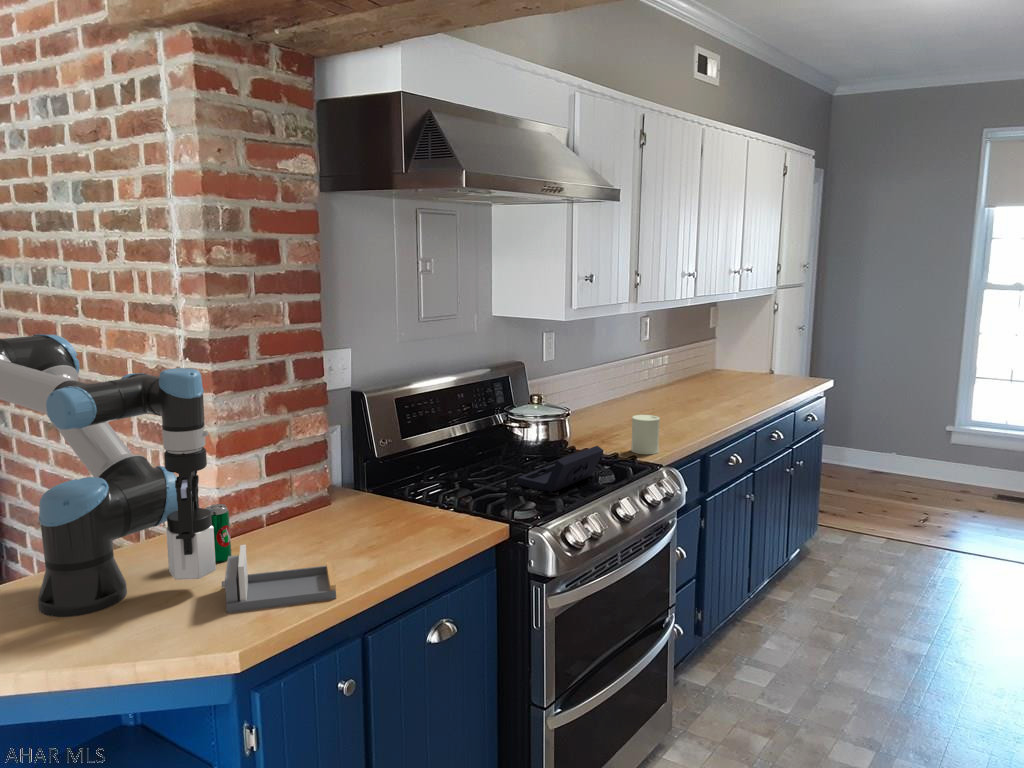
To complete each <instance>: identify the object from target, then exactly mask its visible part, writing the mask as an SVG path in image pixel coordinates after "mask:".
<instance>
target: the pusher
mask: <svg viewBox="0 0 1024 768" xmlns="http://www.w3.org/2000/svg"><path fill="white" fill-rule="evenodd" d="M247 559H248V558H247V545H246V544H240V545H239V564H238V572H239V580H238V586H239V588H240V601H247V590H248V560H247ZM221 588H222V589H223V588H224V589H225V580H222V581H221Z"/></svg>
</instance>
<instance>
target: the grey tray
mask: <svg viewBox="0 0 1024 768" xmlns="http://www.w3.org/2000/svg"><path fill="white" fill-rule="evenodd" d="M238 564H239V555H232V556H228V560H227V561H226V567H225V568H226V569H225V574H224V575H225V576H224V581H225V587H224V589H225V602H226V603H225V608H226V609H225V610H226V613H227V614H231V613H239V612H246V611H247V612H248V611H254V610H261V609H262V610H263V609H268V608H269V609H270V608H276V607H284V606H285V607H286V606H293V605H301V604H307V603H306V602H309V603H314V602H313V601H317V602H324V601H329V600H330V599H332V600H337V588H336V579H335V575H334V569H333V564H332V561H326V563H325V565H321V566H313V567H304V568H295V569H294V568H293V569H285V570H275V571H268V572H267V571H266V572H258V573H250V574H248V590H247V601H240V588H239V586H238V580H239V572H238ZM321 600H322V601H321ZM323 600H324V601H323ZM300 603H301V604H300Z"/></svg>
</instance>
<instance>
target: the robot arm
mask: <svg viewBox="0 0 1024 768" xmlns="http://www.w3.org/2000/svg"><path fill="white" fill-rule="evenodd" d="M77 356H78V354H77V350H76V349H75V348H74V346H73V345H72V344H71V343H70V342H69V340H67V339H66V338H64V337H62V336H60V335H58V334H57V335H56V334H42V333H39V334H37V333H36V334H33V335H30V336H29V335H28V336H19V337H7V338H0V400H1V401H4V402H7V403H11V404H14V405H18V406H20V407H23V408H27V409H29V410H32V411H35V412H38V413H39V412H40V413H43V414H45V415H46V416H47V417H48V419H49V420H50V422H51V423H52V424H53V426H54V427H55V429H57V431H58V432H59V433H60V435H61V436H62V438H64V440H65V442H67V444H68V446H69V447H70V448H71V449H72V451H73V452H74V453H75V455H76V457H78V458H79V460H80V461H81V463H82V464H83V465H84V466H85V468H86V469H87V470H88V472H89V473H90V475H91V476H89V477H88V476H87V477H82V478H79V479H77V478H76V479H75V478H74V479H71V480H67V481H64V482H61V483H58V484H56V485H54V486H53V487H51V488H49V489H48V490H46V491H45V492H44V493H43V495H42V496H41V497H40V499H39V505H38V507H39V508H38V511H39V515H38V521H39V524H40V528H41V529H40V530H41V531H40V532H41V538H42V548H43V556H44V564H45V568H44V569H45V571H44V575H43V579H42V583H41V587H40V590H39V593H38V599H37V600H38V601H37V602H38V611H39V613H41V614H42V615H44V616H48V617H54V618H70V617H78V616H79V617H80V616H85V615H89V614H93V613H97V612H100V611H103V610H106V609H108V608H111V607H113V606H115V605H117V604H118V603H120V602H121V601H123V599H125V598H126V596H127V595H128V588H127V581H126V579H125V578H124V575H123V573H122V571H121V569H120V567H119V565H118V563H117V562H116V559H115V555H114V545H113V541H115V540H118V539H122V538H124V537H127V536H129V535H132V534H136V533H139V532H141V531H144V530H148V529H150V528H155V527H158V526H160V524H163V523H167V516H168V515H169V514H170V513H172V512H174V511H177V510H178V526H179V535H178V536H176V539H180V544H181V560H182V570H186V559H185V555H191V554H192V553H193V552H192V538H194V536H195V533H194V508H200V503H199V502H200V501H199V481H200V478H199V474H198V471H202V470H203V469H206V467H207V464H208V462H207V461H208V460H207V449H206V448H205V446H206V437H207V436H209V431H208V430H205V409H204V408H205V407H204V405H205V404H204V391H205V390H204V388H203V379H202V374H201V372H200V371H199V370H198V369H195V368H191V367H190V368H189V367H188V368H187V367H186V368H185V367H178V368H168V369H164V370H162V371H160V373H159V374H158V375H159V376H157V375H152V374H147V373H143V372H140V373H134V372H133V373H128V374H127V373H126V374H125V375H124V376H122V377H121V378H119V379H114V380H106V381H99V382H93V383H92V382H91V383H85V382H82V381H79V374H80V373H79V372H80V361H79V358H77ZM142 415H153V416H159V417H161V421H162V422H161V423H162V424H161V425H162V427H161V428H162V429H161V430H162V431H161V432H162V444H163V445H162V446H163V449H164V450H165V451H164V453H163V456H164V457H163V458H164V466H162V465H157V466H155V467H154V466H153V465H152V464H151V463H150V462H149V461H148V459H147V458H146V457H145V456H143V455H141V454H133V453H132V452H131V451H130V449H129V448H128V446H127V445H126V443H125V442H124V440H122V439H121V438H120V436H119V435H118V434H117V432H116V431H115V430H114V428H113V427H112V426H111V424H110V423H109V422H113V421H118V420H123V419H128V418H133V417H138V416H142ZM175 473H176V474H177V475H178V476H176V475H175Z"/></svg>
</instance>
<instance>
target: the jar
mask: <svg viewBox="0 0 1024 768" xmlns="http://www.w3.org/2000/svg"><path fill="white" fill-rule="evenodd" d="M166 524H167V527H166V529H165V530H166V542H167V543H166V545H167V559H168V571H169V574H170V575H171V576H172V578H174V580H175V581H177V580H180V581H181V580H199V579H201V578H204V577H206V576H208V575H209V574H211V573H214V572H215V571H216V570H217V569H216V568H217V567H216V563H215V546H214V527H213V526H212V520H211V512H210V511H209V510H207V509H206V508H202V507H199V508H194V533H195V536H194V538H192V552H193V553H192V554H191V555H185V559H186V570H182V560H181V544H180V539H176V536H178V535H179V526H178V510H177V511H174V512H172V513H170V514H169V515H168V516H167V521H166Z"/></svg>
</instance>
